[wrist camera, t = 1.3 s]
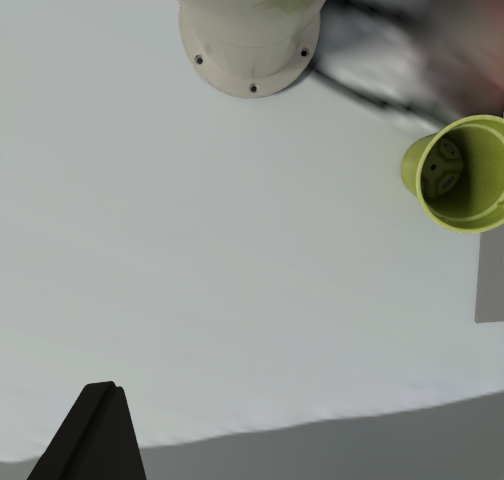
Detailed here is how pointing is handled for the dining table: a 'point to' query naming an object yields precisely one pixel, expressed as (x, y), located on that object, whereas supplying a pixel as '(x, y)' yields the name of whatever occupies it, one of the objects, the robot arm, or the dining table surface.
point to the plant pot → (460, 174)
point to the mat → (491, 277)
